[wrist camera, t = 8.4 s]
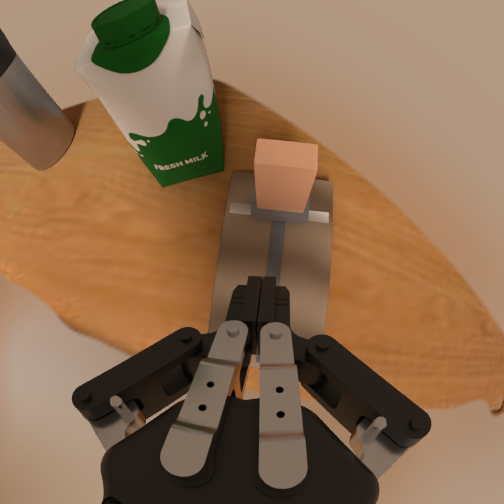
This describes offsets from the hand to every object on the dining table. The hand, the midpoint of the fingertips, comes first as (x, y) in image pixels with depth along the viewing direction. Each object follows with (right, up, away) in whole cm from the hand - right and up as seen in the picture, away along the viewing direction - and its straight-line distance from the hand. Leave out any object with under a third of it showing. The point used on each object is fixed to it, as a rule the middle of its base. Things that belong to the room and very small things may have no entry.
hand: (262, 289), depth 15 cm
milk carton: (-8, +13, +14) cm, 21 cm away
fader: (+2, +6, +10) cm, 12 cm away
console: (+2, 0, +11) cm, 11 cm away
